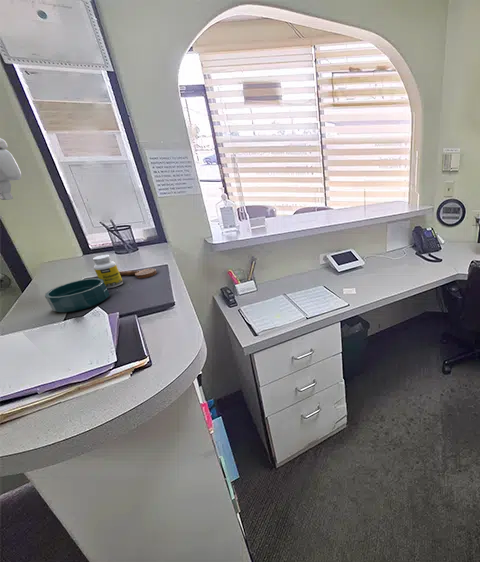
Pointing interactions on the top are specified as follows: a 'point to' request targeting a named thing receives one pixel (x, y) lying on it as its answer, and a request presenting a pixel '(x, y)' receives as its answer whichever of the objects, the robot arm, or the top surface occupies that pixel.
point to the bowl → (77, 295)
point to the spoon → (139, 273)
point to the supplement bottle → (107, 271)
